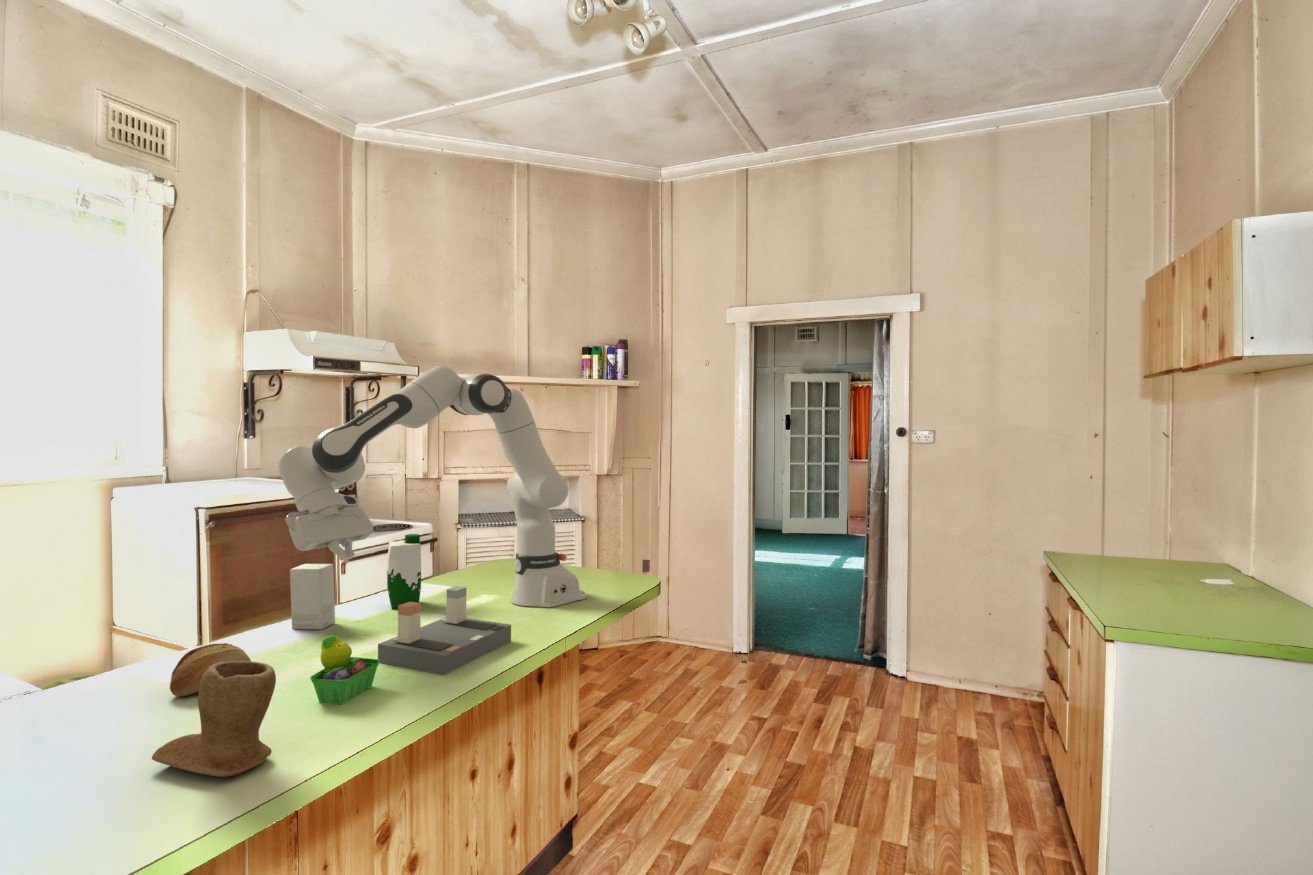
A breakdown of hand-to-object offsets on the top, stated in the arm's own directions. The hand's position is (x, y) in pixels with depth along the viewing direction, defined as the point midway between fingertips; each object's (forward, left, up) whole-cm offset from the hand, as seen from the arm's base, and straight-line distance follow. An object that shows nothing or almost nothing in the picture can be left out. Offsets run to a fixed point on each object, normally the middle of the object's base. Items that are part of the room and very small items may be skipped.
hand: (348, 558), depth 156 cm
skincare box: (+3, -22, -21) cm, 31 cm away
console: (-18, +16, -21) cm, 32 cm away
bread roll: (+27, +9, -21) cm, 36 cm away
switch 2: (-23, +8, -16) cm, 29 cm away
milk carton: (-22, -29, -21) cm, 42 cm away
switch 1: (-9, +16, -16) cm, 25 cm away
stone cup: (+28, +45, -21) cm, 57 cm away
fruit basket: (+7, +28, -21) cm, 36 cm away
